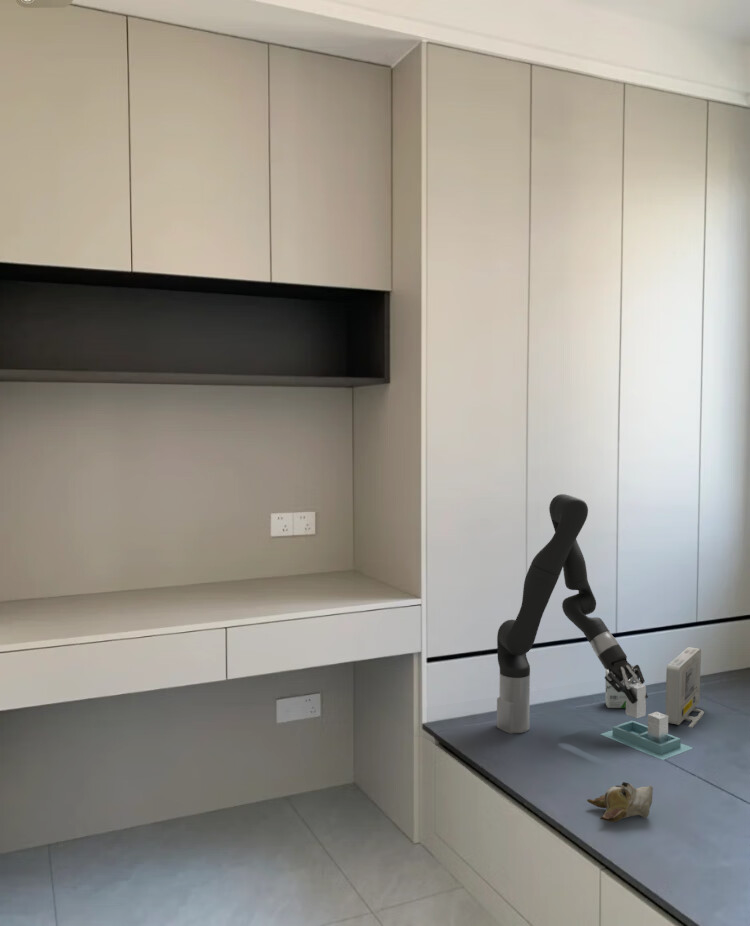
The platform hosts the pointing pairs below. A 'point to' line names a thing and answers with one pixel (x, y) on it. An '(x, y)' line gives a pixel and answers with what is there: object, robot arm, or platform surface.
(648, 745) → the teal flat tray
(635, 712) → the block
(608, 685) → the ink box
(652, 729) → the block
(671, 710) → the network device
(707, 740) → the platform surface
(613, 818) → the ceramic sculpture
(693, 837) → the platform surface
